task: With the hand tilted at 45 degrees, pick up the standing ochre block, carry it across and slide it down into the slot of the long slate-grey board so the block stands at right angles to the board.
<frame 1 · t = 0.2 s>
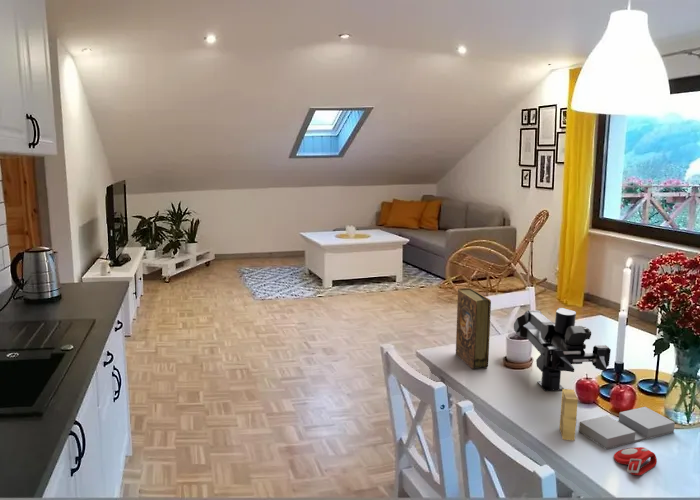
hand: (589, 370, 164), 17 cm above the table, tool horizontal, fingers open, 9 cm apart
ochre block: (566, 434, 162), on the table
tracker holder: (632, 466, 147), on the table
slotted board: (626, 431, 163), on the table
book: (470, 361, 213), on the table
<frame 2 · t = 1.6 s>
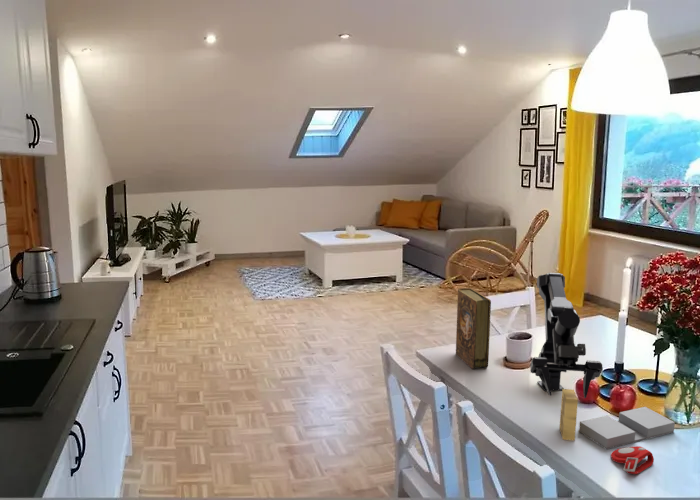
hand: (567, 396, 163), 10 cm above the table, tool tilted 45°, fingers open, 9 cm apart
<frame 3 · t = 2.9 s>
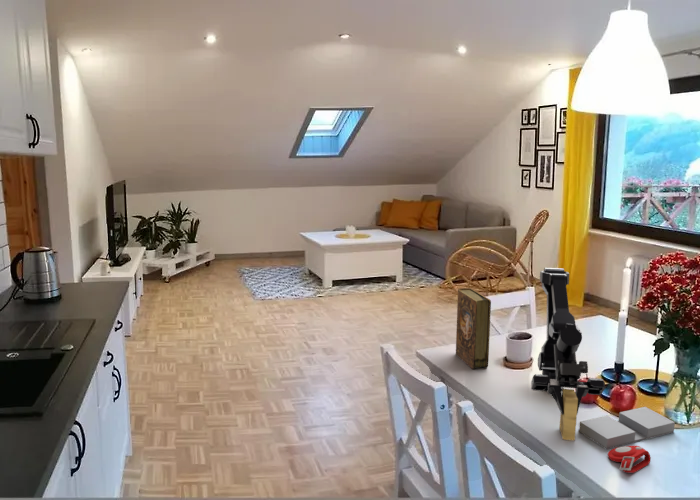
hand: (569, 414, 159), 7 cm above the table, tool tilted 45°, fingers closed on ochre block, 3 cm apart
ochre block: (566, 434, 162), on the table, touching gripper
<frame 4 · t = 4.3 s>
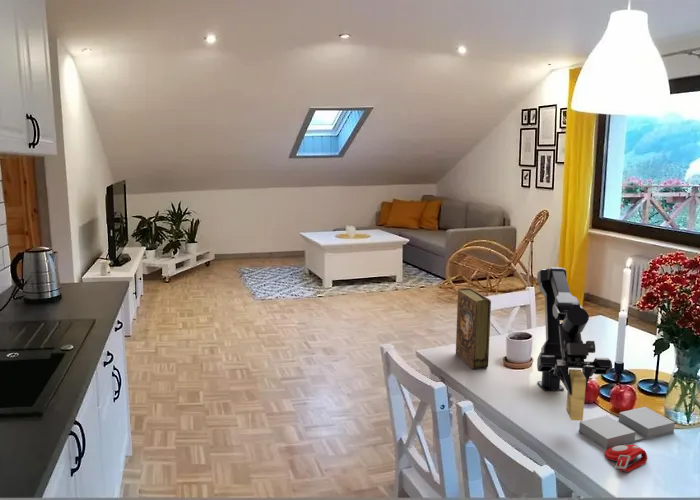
hand: (577, 394, 158), 12 cm above the table, tool tilted 45°, fingers closed on ochre block, 3 cm apart
ochre block: (574, 415, 161), point 6 cm above the table, touching gripper
when the fingers open (8 cm above the table, at t = 6.6 s): ochre block drops 1 cm, resting on slotted board.
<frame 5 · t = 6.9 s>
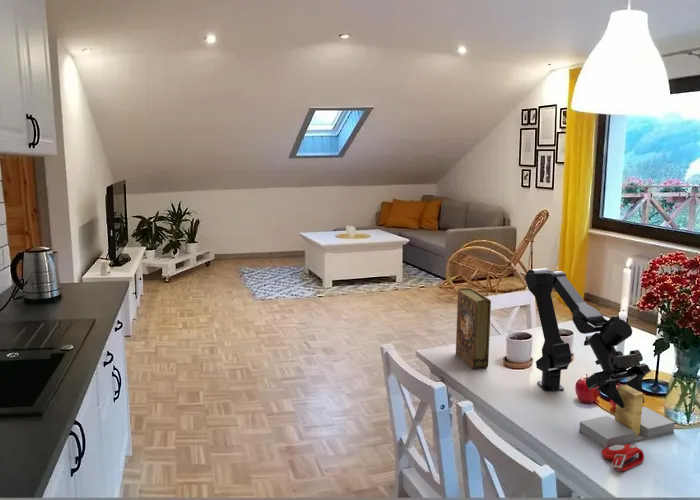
hand: (633, 405, 160), 9 cm above the table, tool tilted 45°, fingers open, 7 cm apart
ochre block: (626, 430, 163), resting on slotted board
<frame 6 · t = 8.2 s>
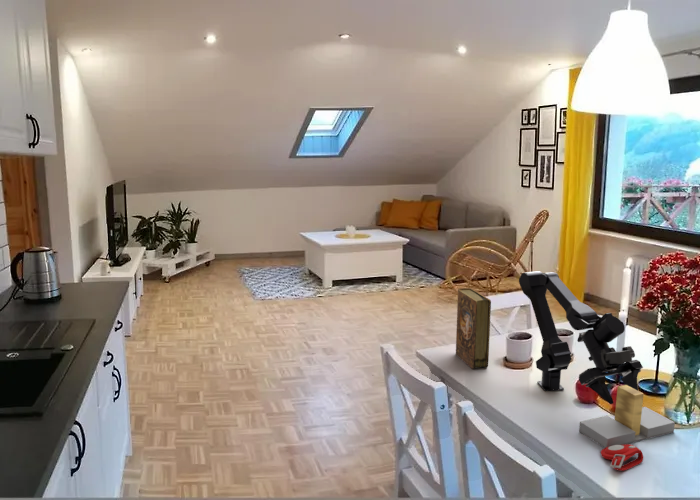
hand: (625, 401, 163), 9 cm above the table, tool tilted 45°, fingers open, 9 cm apart
tracker holder: (617, 462, 149), on the table, touching slotted board
everything else where it was.
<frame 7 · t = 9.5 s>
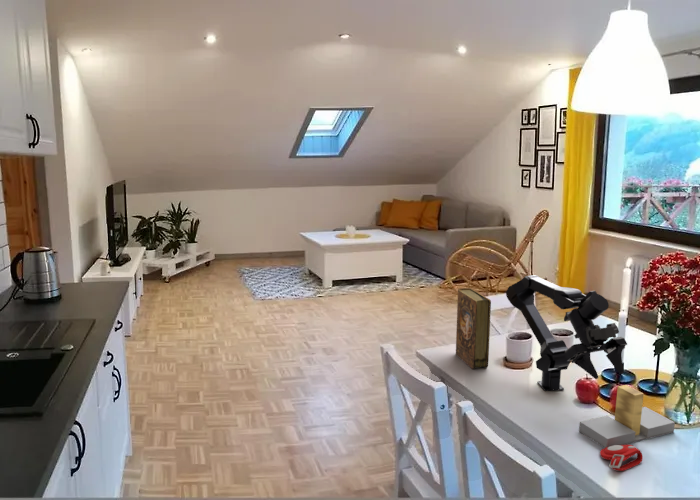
hand: (609, 375, 167), 14 cm above the table, tool tilted 45°, fingers open, 9 cm apart
tracker holder: (617, 463, 149), on the table
everything else where it was.
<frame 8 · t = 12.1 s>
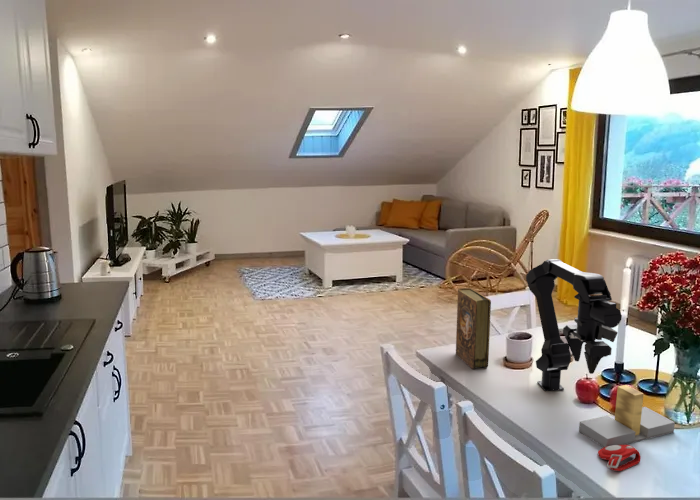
hand: (583, 367, 175), 13 cm above the table, tool pointing down, fingers open, 9 cm apart
tracker holder: (615, 463, 149), on the table, touching slotted board
everything else where it was.
at the end: ochre block 0.0 cm off-centre on the slotted board, point 0.5 cm above the slotted board's base; ochre block tilted 0°; the gripper is holding nothing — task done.
